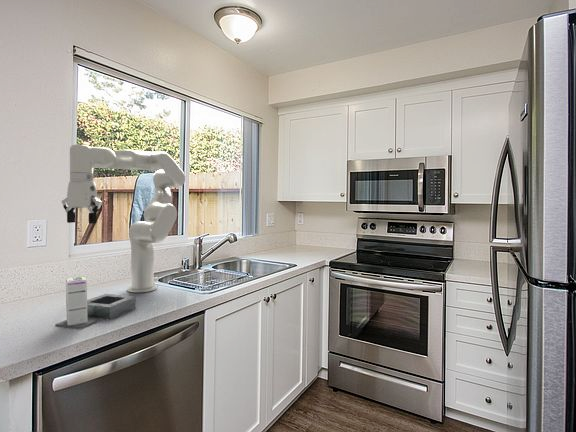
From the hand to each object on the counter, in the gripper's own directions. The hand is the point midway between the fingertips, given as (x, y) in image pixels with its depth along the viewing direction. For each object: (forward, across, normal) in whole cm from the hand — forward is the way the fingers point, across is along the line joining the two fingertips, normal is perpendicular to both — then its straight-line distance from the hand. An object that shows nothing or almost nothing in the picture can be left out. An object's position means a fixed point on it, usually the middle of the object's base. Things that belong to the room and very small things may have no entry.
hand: (81, 222), depth 128 cm
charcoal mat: (+32, -13, +15) cm, 38 cm away
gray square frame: (+32, -14, +3) cm, 35 cm away
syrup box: (+32, -13, +15) cm, 38 cm away
